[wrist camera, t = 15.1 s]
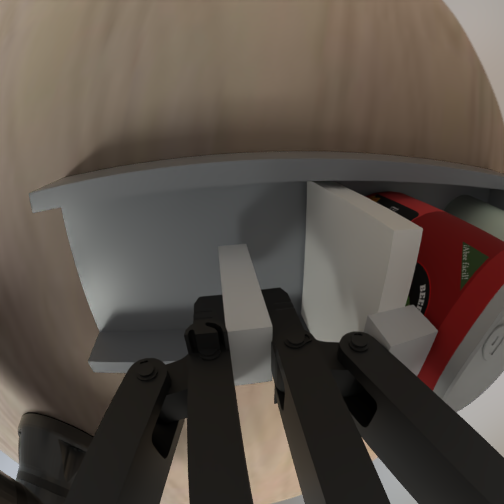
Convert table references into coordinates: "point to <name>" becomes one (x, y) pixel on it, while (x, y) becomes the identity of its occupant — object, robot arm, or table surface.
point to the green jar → (478, 214)
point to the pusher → (362, 273)
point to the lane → (214, 231)
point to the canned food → (456, 299)
